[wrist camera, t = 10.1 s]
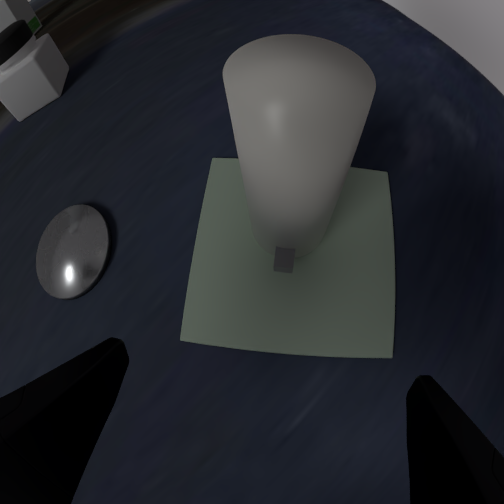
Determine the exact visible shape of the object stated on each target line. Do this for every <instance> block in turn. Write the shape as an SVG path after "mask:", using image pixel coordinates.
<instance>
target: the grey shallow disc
mask: <svg viewBox="0 0 504 504" xmlns="http://www.w3.org/2000/svg"><path fill="white" fill-rule="evenodd" d="M111 242H112V241H111V232H110V228H109V225H108V223H107V221H106V219H105V218H104V217H103V216H102V215H101V214H100V213H99V212H98V211H97V210H96V209H94V208H93V207H90V206H87V205H75V206H71V207H69V208H67V209H65V210H63V211H62V212H60V213H59V214H58V215H57V216H56V217H55V218H54V219H53V220H52V221H51V222H50V223H49V225H48V226H47V228H46V229H45V231H44V233H43V235H42V237H41V240H40V242H39V246H38V250H37V256H36V270H37V275H38V278H39V281H40V283H41V285H42V287H43V288H44V289H45V290H46V292H48V293H49V294H50V295H52V296H54V297H57V298H60V299H63V300H73V299H77V298H79V297H81V296H83V295H85V294H86V293H88V292H89V291H90V290H91V289H92V288H93V287H94V286H95V285H96V284H97V283H98V281H99V280H100V278H101V277H102V275H103V273H104V271H105V269H106V267H107V264H108V261H109V257H110V253H111Z"/></svg>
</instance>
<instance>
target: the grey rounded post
mask: <svg viewBox="0 0 504 504" xmlns="http://www.w3.org/2000/svg"><path fill="white" fill-rule="evenodd" d="M223 80H224V85H225V90H226V95H227V101H228V106H229V111H230V116H231V121H232V126H233V132H234V137H235V142H236V147H237V153H238V158H239V163H240V168H241V173H242V179H243V184H244V189H245V194H246V200H247V205H248V210H249V216H250V221H251V226H252V231H253V235H254V237H255V239H256V241H257V242H258V244H259V245H260V246H261V247H262V248H263V249H264V250H265V251H266V252H268V253H270V254H272V255H274V256H275V258H274V266H273V267H274V271H276V272H285V273H292V272H293V266H294V258H299V257H302V256H305V255H307V254H309V253H310V252H312V251H313V250H314V249H315V248H317V246H318V245H319V244H320V242H321V241H322V239H323V236H324V234H325V231H326V229H327V226H328V224H329V221H330V219H331V216H332V214H333V211H334V208H335V206H336V203H337V201H338V198H339V195H340V193H341V190H342V187H343V185H344V182H345V179H346V176H347V174H348V171H349V168H350V165H351V163H352V160H353V157H354V154H355V151H356V148H357V145H358V143H359V140H360V137H361V134H362V131H363V128H364V125H365V122H366V119H367V116H368V112H369V109H370V106H371V103H372V100H373V97H374V93H375V89H376V82H375V77H374V74H373V72H372V70H371V69H370V67H369V66H368V65H367V63H366V62H365V61H364V60H363V59H362V58H361V57H359V56H358V55H357V54H356V53H354V52H353V51H351V50H350V49H348V48H346V47H344V46H342V45H340V44H338V43H335V42H333V41H330V40H327V39H323V38H319V37H314V36H308V35H298V34H284V35H275V36H269V37H264V38H261V39H257V40H254V41H252V42H250V43H247V44H246V45H244V46H242V47H240V48H239V49H238V50H236V51H235V52H234V53H233V54H232V55H231V56H230V57H229V58H228V60H227V61H226V63H225V65H224V69H223Z"/></svg>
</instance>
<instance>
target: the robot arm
mask: <svg viewBox="0 0 504 504" xmlns="http://www.w3.org/2000/svg"><path fill="white" fill-rule="evenodd" d="M128 364H129V356H128V353H127V350H126V347H125V344H124V342H123V341H122V340H121V339H117V338H113V337H111V338H109V339H107V340H105V341H103V342H101V343H100V344H98V345H96V346H94V347H92V348H91V349H89V350H87V351H85V352H84V353H82V354H80V355H78V356H76V357H75V358H73V359H71V360H69V361H67V362H66V363H64V364H62V365H60V366H58V367H57V368H55V369H53V370H51V371H50V372H48V373H46V374H44V375H42V376H41V377H39V378H37V379H35V380H33V381H32V382H30V383H28V384H26V386H25V385H24V386H22V387H21V388H19V389H17V390H15V391H13V392H11V393H9V394H7V395H5V396H3V397H1V398H0V504H71V502H72V500H73V497H74V494H75V492H76V489H77V487H78V484H79V482H80V480H81V477H82V475H83V472H84V470H85V468H86V465H87V463H88V461H89V458H90V456H91V454H92V452H93V449H94V447H95V445H96V443H97V440H98V438H99V436H100V434H101V432H102V429H103V427H104V425H105V423H106V421H107V419H108V416H109V414H110V412H111V410H112V408H113V406H114V403H115V401H116V398H117V396H118V393H119V390H120V387H121V384H122V381H123V378H124V376H125V373H126V370H127V367H128ZM406 407H407V450H408V462H409V478H410V504H504V457H503V456H502V455H501V454H500V453H499V451H498V450H497V449H496V448H494V446H493V444H492V443H491V442H490V441H489V440H488V439H487V437H486V436H485V435H484V434H483V433H482V432H481V431H480V429H479V428H478V427H477V426H476V425H475V424H474V423H473V422H472V420H471V419H470V418H469V417H468V416H467V415H466V414H465V413H464V411H463V410H462V409H461V408H460V407H459V406H458V405H457V404H456V403H455V401H454V400H453V399H452V398H451V397H450V396H449V395H448V394H447V393H446V392H445V391H444V390H443V388H442V387H441V386H440V385H439V384H438V383H437V382H436V381H435V380H434V379H433V378H432V377H431V376H429V375H420V376H418V377H417V378H416V379H415V381H414V382H413V384H412V386H411V388H410V389H409V391H408V393H407V397H406Z"/></svg>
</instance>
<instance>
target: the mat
mask: <svg viewBox="0 0 504 504" xmlns="http://www.w3.org/2000/svg"><path fill="white" fill-rule="evenodd" d="M274 258H275V256H274V255H272V254H270V253H268V252H266V251H265V250H264V249H263V248H262V247H261V246H260V245H259V244H258V242H257V241H256V239H255V237H254V235H253V231H252V226H251V221H250V216H249V210H248V205H247V200H246V194H245V189H244V184H243V179H242V173H241V168H240V163H239V159H233V158H212V163H211V167H210V172H209V176H208V181H207V186H206V191H205V195H204V200H203V205H202V210H201V215H200V220H199V226H198V231H197V236H196V242H195V247H194V253H193V259H192V264H191V270H190V276H189V282H188V289H187V295H186V301H185V308H184V315H183V322H182V329H181V336H180V340H181V341H187V342H193V343H200V344H206V345H213V346H220V347H228V348H235V349H244V350H252V351H262V352H272V353H283V354H295V355H309V356H326V357H352V358H392V355H393V341H394V321H395V255H394V234H393V220H392V208H391V198H390V189H389V180H388V173H387V172H383V171H376V170H369V169H361V168H353V167H350V168H349V171H348V174H347V176H346V179H345V182H344V185H343V187H342V190H341V193H340V195H339V198H338V201H337V203H336V206H335V208H334V211H333V214H332V216H331V219H330V221H329V224H328V226H327V229H326V231H325V234H324V236H323V239H322V241H321V242H320V244H319V245H318V246H317V248H315V249H314V250H313V251H312V252H310V253H309V254H307V255H305V256H302V257H299V258H294V266H293V272H292V273H285V272H276V271H274V267H273V266H274Z"/></svg>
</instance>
